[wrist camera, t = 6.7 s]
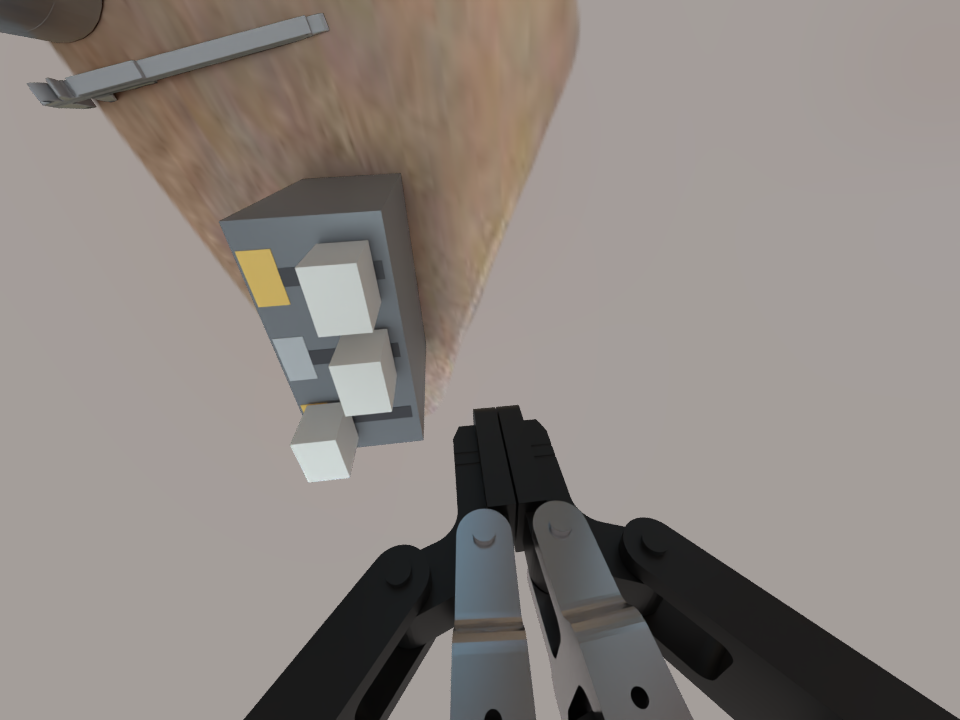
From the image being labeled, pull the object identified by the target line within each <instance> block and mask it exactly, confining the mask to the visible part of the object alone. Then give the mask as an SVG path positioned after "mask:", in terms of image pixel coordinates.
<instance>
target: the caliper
mask: <svg viewBox="0 0 960 720" xmlns="http://www.w3.org/2000/svg"><path fill="white" fill-rule="evenodd" d="M326 31H329V28H328V25H327V22H326V19H325V17H324V14H323V13H321V14H315V15H311V16H307V17H306V16H305V15H303V16H300V17H296V18H292V19H289V20H285V21H281V22H278V23H274V24H270V25H266V26H263V27H259V28H255V29H252V30H248V31H244V32H241V33H237V34H233V35H229V36H226V37H222V38H218V39H215V40H211V41H207V42H204V43H200V44H196V45H193V46H189V47H185V48H182V49H178V50H174V51H171V52H167V53H163V54H160V55H156V56H152V57H148V58H145V59H141V60H137V61H135V60H130V61H127V62H123V63H119V64H115V65H112V66H108V67H104V68H100V69H97V70H93V71H89V72H85V73H82V74H78V75H74V76H70V77H67V78H65V79H66V80H64V81H63V80H60V81H58V80H55V79H51V78H46V81H47V82H48V83H27V85H28V86H29V87H30V90H31V91H32V92H33V93H34V95H35V96H36V97H37V99H38V100H39V101H40V103H41V104H42V105H45V106H50V107H56V108H76V109H88V108H94V107H96V106H95V104H94V103H93V101H92V100H91V98H93V99H96V100H101V101H106V102H107V101H108V102H114V101H117V99H116V98H115V96H114V95H113V93H117V92H120V91H127V90H131V89H136V88H140V87H142V86H146V85H150V84H155V83H157V80H159V79H163V78H166V77H170V76H174V75H177V74H181V73H184V72H188V71H192V70H195V69H199V68H202V67H206V66H209V65H213V64H217V63H220V62H224V61H227V60H231V59H235V58H238V57H242V56H245V55H249V54H253V53H256V52H260V51H264V50H267V49H271V48H274V47H278V46H282V45H285V44H289V43H293V42H296V41H299V40H302V39H305V38H308V37H311V36H313V35H315V34H319V33H323V32H326Z"/></svg>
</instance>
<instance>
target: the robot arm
mask: <svg viewBox="0 0 960 720" xmlns="http://www.w3.org/2000/svg"><path fill="white" fill-rule="evenodd" d="M101 8H102V0H0V32H2V33H8V34H13V35H18V36H24V37H29V38H35V39H40V40H45V41H51V42H56V43H60V42H73V41H76V40H79V39H82V38H84V37H85V36H86V35H88V34H89V33H90V32H91V31H92V30H93V29H94V27H95V25H96V24H97V22H98V20H99V17H100V13H101ZM473 420H474V425H471V426H462V427H459V428H458V430H457V432H456V434H455V436H454V439H453V443H454V459H455V473H456V490H457V505H458V515H457V520H456V523H455V525H454V527H453V528H452V530H451V531H450V532H449V533H448V534H447V535H446V537H444V538H443V539H441V540H440V541H438V542H436V543H434V544H432V545H430V546H427V547H425V548H423V549H421V550H419V549H418V548H416V547H414V546H411V545H398V546H394V547H392V548H390V549H388V550H386V551H385V552H384V553H382V554H381V555H380V556H379V557H378V558H377V559H376V561H375V562H374V563H373V564H372V565H371V567H370V568H369V569H368V570H367V571H366V573H365V574H364V575H363V576H362V578H361V579H360V580H359V581H358V582H357V583H356V585H355V586H354V587H353V588H352V590H351V591H350V592H349V593H348V594H347V596H346V597H345V598H344V599H343V600H342V602H341V603H340V604H339V605H338V606H337V608H336V609H335V610H334V611H333V613H332V614H331V615H330V616H329V617H328V619H327V620H326V621H325V622H324V624H322V626H321V627H320V628H319V629H318V631H317V632H316V633H315V634H314V635H313V637H312V638H311V639H310V640H309V641H308V643H307V644H306V645H305V646H304V647H303V649H302V650H301V651H300V652H299V653H298V655H297V656H296V657H295V658H294V659H293V661H292V662H291V663H290V664H289V665H288V667H287V668H286V669H285V670H284V672H283V673H282V674H281V675H280V676H279V678H278V679H277V680H276V681H275V683H274V684H273V685H272V686H271V687H270V688H269V690H268V691H267V692H266V693H265V695H264V696H263V697H262V698H261V699H260V701H259V702H258V703H257V704H256V705H255V706H254V708H253V709H252V710H251V711H250V713H249V714H248V715H247V716H246V718H245V719H244V720H387V719H388V718H389V716H390V714H391V712H392V711H393V709H394V708H395V706H396V704H397V703H398V701H399V699H400V698H401V696H402V694H403V692H404V691H405V689H406V687H407V686H408V684H409V682H410V681H411V679H412V677H413V676H414V674H415V672H416V671H417V669H418V667H419V666H420V664H421V662H422V661H423V659H424V657H425V656H426V654H427V652H428V650H429V649H430V647H431V645H432V644H433V642H434V640H435V638H436V637H437V636H439V635H441V634H443V633H444V632H446V631H448V630H450V629H451V628H453V627H454V629H453V638H452V667H451V669H452V670H451V710H450V720H536V714H535V706H534V697H533V688H532V680H531V671H530V663H529V654H528V646H527V639H526V633H525V628H524V625H523V622H522V617H521V609H520V600H519V591H518V582H517V573H516V565H515V555H514V546H515V551H516V552H521V551H525V555H526V560H527V564H528V571H527V578H528V583H529V587H530V591H531V595H532V598H533V601H534V605H535V609H536V613H537V616H538V620H539V623H540V627H541V630H542V634H543V638H544V641H545V645H546V649H547V652H548V656H549V660H550V665H551V672H552V681H553V686H554V691H555V696H556V700H557V704H558V708H559V711H560V715H561V719H562V720H693V718H692V716H691V714H690V711H689V710H688V707H687V705H686V704H685V701H684V699H683V697H682V695H681V693H680V691H679V689H678V687H677V685H676V683H675V681H674V679H673V677H672V675H671V673H670V670H669V669H668V666H667V664H666V662H665V660H664V658H665V659H666V660H667V661H668V662H670V663H671V664H672V665H673V666H674V667H675V668H676V669H677V670H679V671H680V672H681V673H682V674H683V675H684V676H685V677H686V678H688V679H689V680H690V681H691V682H692V683H693V684H694V685H695V686H697V687H698V688H699V689H700V690H701V691H702V692H703V693H705V694H706V695H707V696H708V697H709V698H710V699H711V700H713V701H714V702H715V703H716V704H717V705H718V706H719V707H720V708H722V709H723V710H724V711H725V712H726V713H727V714H728V715H730V716H731V717H732V718H733V719H734V720H960V719H958V718H957V717H955V716H954V715H952V714H951V713H949V712H948V711H946V710H945V709H943V708H942V707H940V706H939V705H937V704H936V703H934V702H933V701H931V700H930V699H928V698H927V697H925V696H924V695H922V694H921V693H919V692H918V691H916V690H915V689H913V688H912V687H910V686H909V685H907V684H906V683H904V682H902V681H901V680H899V679H898V678H896V677H895V676H893V675H892V674H890V673H889V672H887V671H886V670H884V669H883V668H881V667H880V666H878V665H877V664H875V663H874V662H872V661H871V660H869V659H868V658H866V657H865V656H863V655H861V654H860V653H859V652H857V651H855V650H854V649H853V648H851V647H850V646H848V645H847V644H845V643H843V642H842V641H840V640H839V639H837V638H836V637H834V636H833V635H831V634H830V633H828V632H827V631H825V630H824V629H822V628H821V627H819V626H818V625H816V624H815V623H813V622H812V621H810V620H809V619H807V618H806V617H804V616H803V615H801V614H800V613H798V612H797V611H795V610H794V609H792V608H790V607H789V606H787V605H786V604H784V603H783V602H781V601H780V600H778V599H777V598H775V597H774V596H772V595H771V594H769V593H768V592H766V591H765V590H763V589H762V588H760V587H759V586H757V585H756V584H754V583H753V582H751V581H750V580H748V579H747V578H745V577H744V576H742V575H740V574H739V573H738V572H736V571H734V570H733V569H732V568H730V567H728V566H727V565H726V564H724V563H722V562H721V561H719V560H718V559H716V558H715V557H713V556H712V555H710V554H709V553H707V552H706V551H704V550H703V549H701V548H700V547H698V546H697V545H695V544H694V543H692V542H691V541H689V540H688V539H686V538H685V537H683V536H682V535H680V534H679V533H677V532H676V531H674V530H672V529H671V528H669V527H668V526H667V525H665V524H663V523H662V522H659V521H657V520H654V519H651V518H636V519H633V520H632V521H630V522H629V523H628V524H627V525H626V527H623V526H618V525H613V524H609V523H603V522H599V521H596V520H594V519H591V518H589V517H588V516H586V515H585V514H583V513H582V512H581V511H580V510H579V509H578V508H577V507H576V506H575V505H574V503H573V501H572V499H571V497H570V495H569V492H568V489H567V486H566V484H565V481H564V478H563V475H562V473H561V470H560V467H559V464H558V461H557V459H556V457H555V453H554V450H553V447H552V446H551V442H550V439H549V436H548V434H547V431H546V430H545V428H544V427H543V426H542V425H541V424H540V423H539V422H538V421H537V420H536V419H534V420H523V417H522V414H521V411H520V408H519V405H513V406H502V407H496V408H495V407H492V408H481V409H473ZM663 657H664V658H663Z"/></svg>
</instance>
